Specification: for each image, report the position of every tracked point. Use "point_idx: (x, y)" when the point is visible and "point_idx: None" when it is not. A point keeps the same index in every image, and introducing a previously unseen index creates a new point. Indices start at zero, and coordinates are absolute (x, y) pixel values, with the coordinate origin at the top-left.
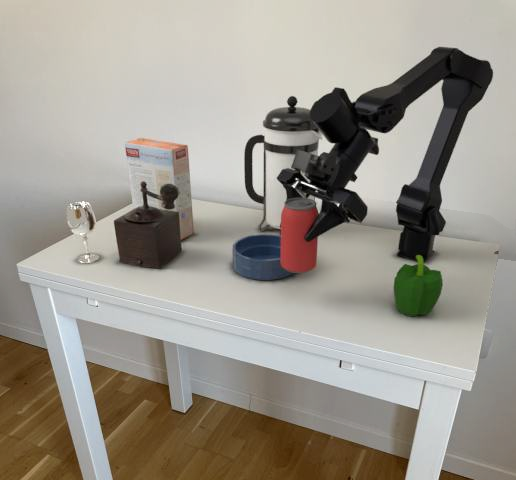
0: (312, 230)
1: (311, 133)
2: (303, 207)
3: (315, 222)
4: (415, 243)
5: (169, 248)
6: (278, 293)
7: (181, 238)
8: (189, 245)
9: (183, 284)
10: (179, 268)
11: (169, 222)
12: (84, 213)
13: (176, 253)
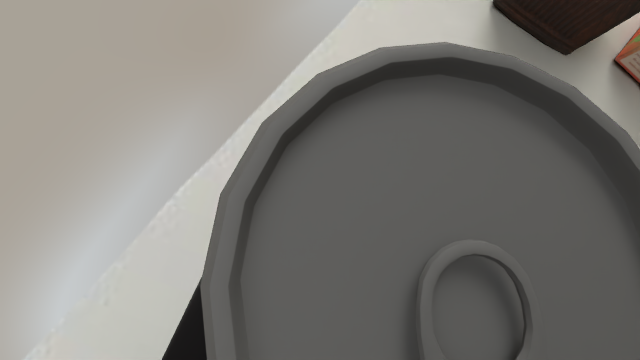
0: (193, 299)
1: None
2: (335, 282)
3: (189, 358)
4: None
5: (551, 4)
6: None
7: (623, 61)
8: (594, 76)
9: (423, 30)
10: (491, 37)
11: None
12: None
13: (549, 36)
